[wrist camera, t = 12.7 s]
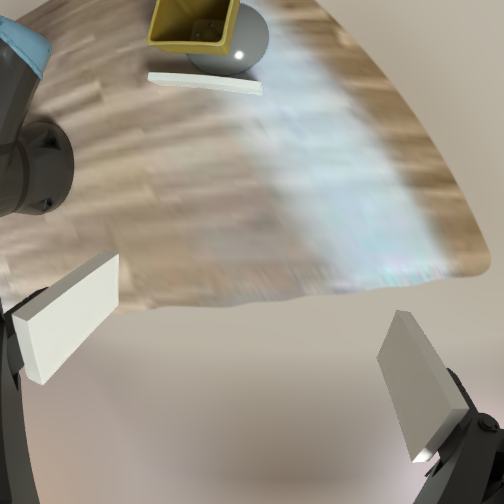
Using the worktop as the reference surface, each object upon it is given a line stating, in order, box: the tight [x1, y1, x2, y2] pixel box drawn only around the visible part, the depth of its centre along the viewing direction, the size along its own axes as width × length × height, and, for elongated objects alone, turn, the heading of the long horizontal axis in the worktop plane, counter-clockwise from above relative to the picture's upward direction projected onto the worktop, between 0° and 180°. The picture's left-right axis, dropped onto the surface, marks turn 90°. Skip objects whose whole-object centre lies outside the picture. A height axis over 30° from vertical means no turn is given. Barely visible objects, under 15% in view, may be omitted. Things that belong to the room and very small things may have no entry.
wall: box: [148, 72, 264, 96], centre depth 35 cm, size 14×1×4 cm, turn 80°
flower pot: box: [147, 0, 240, 56], centre depth 30 cm, size 9×9×9 cm
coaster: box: [187, 4, 269, 76], centre depth 34 cm, size 11×11×1 cm
